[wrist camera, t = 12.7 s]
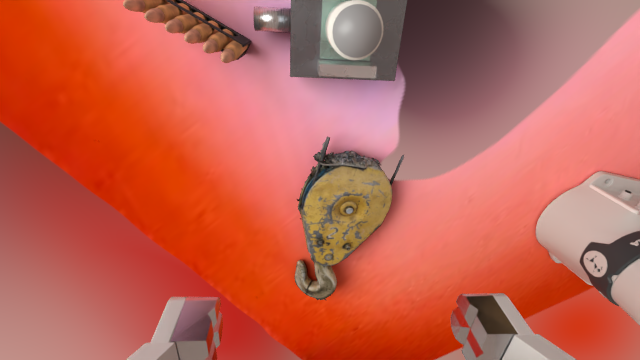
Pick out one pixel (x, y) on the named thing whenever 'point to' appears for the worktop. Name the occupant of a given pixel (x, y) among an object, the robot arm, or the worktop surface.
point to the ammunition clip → (193, 26)
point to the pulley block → (339, 213)
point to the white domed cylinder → (354, 29)
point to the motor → (316, 52)
